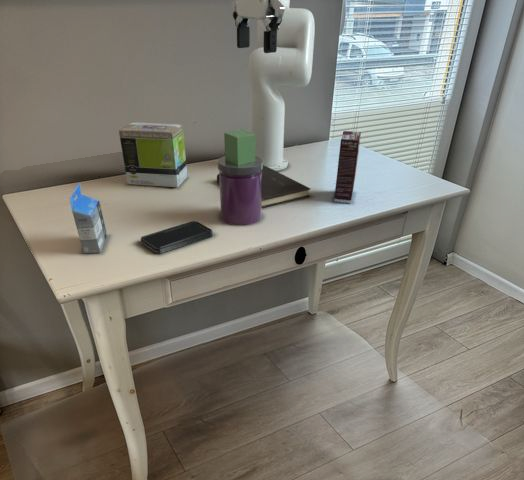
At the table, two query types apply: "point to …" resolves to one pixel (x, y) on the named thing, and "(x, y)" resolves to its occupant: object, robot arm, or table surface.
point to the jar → (240, 191)
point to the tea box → (154, 154)
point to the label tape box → (88, 221)
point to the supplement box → (347, 166)
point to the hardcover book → (279, 188)
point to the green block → (239, 147)
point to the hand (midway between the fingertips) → (256, 50)
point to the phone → (176, 237)
